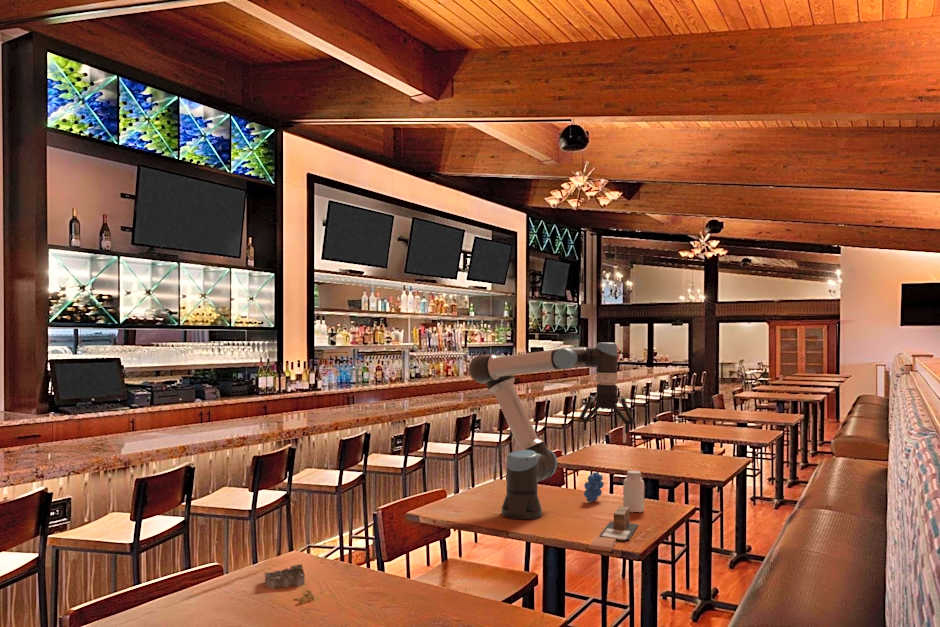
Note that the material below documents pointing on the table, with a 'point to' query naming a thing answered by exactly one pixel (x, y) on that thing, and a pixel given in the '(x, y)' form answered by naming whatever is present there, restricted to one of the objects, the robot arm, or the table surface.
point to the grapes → (593, 487)
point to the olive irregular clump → (305, 597)
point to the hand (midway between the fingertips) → (606, 441)
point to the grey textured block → (285, 577)
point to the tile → (602, 544)
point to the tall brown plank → (619, 525)
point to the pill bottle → (633, 492)
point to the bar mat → (629, 528)
